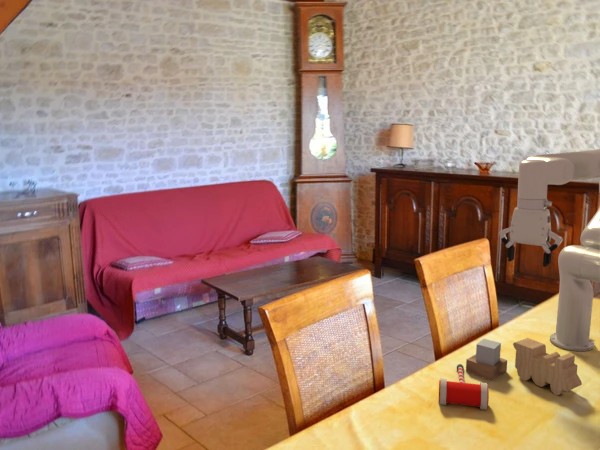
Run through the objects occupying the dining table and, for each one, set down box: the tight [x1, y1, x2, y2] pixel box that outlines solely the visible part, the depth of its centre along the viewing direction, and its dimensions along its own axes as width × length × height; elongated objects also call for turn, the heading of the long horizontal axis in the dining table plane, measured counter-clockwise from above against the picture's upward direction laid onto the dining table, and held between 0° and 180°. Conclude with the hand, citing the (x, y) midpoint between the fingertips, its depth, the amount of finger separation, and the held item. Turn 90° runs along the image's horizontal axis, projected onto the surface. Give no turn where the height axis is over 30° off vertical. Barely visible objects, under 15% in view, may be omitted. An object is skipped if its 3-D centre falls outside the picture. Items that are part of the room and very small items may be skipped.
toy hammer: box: [438, 363, 490, 411], centre depth 144 cm, size 23×12×6 cm, turn 166°
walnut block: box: [465, 354, 508, 382], centre depth 153 cm, size 8×8×4 cm
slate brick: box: [475, 338, 502, 366], centre depth 152 cm, size 5×5×5 cm
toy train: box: [512, 337, 582, 396], centre depth 145 cm, size 6×17×10 cm, turn 32°
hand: (528, 263), depth 154 cm, fingers open, 9 cm apart
